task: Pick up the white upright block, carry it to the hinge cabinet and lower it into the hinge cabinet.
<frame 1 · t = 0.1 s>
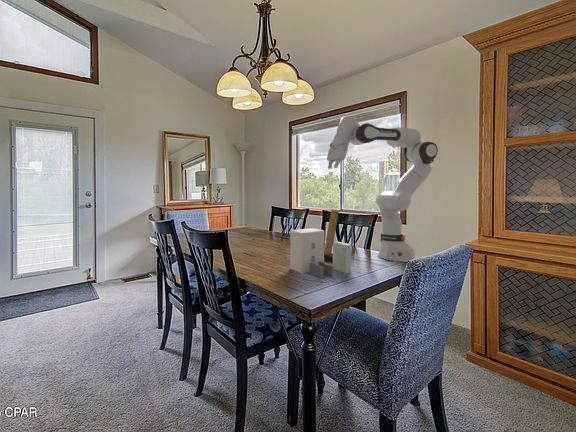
hand: (332, 168, 172), 52 cm above the table, tool tilted 20°, fingers open, 8 cm apart
white upright block: (341, 270, 157), on the table
hammer: (327, 261, 177), on the table
hinge cabinet: (321, 274, 150), on the table
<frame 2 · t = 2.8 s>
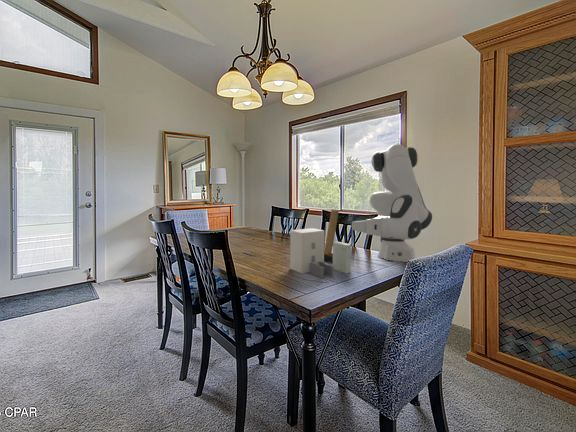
hand: (360, 223, 144), 25 cm above the table, tool horizontal, fingers open, 8 cm apart
nothing on the table moved.
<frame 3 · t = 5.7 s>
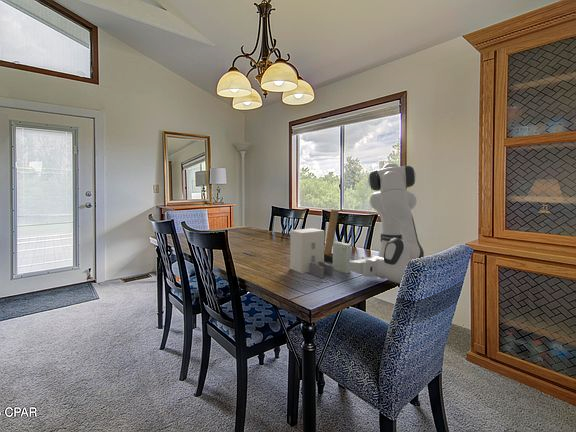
hand: (355, 259, 148), 7 cm above the table, tool horizontal, fingers open, 8 cm apart
nothing on the table moved.
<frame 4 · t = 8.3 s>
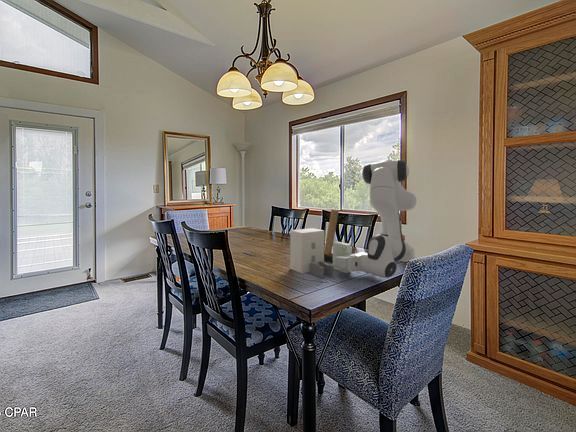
hand: (343, 255, 155), 8 cm above the table, tool horizontal, fingers closed on white upright block, 3 cm apart
white upright block: (341, 270, 157), on the table, touching gripper
everything else where it was.
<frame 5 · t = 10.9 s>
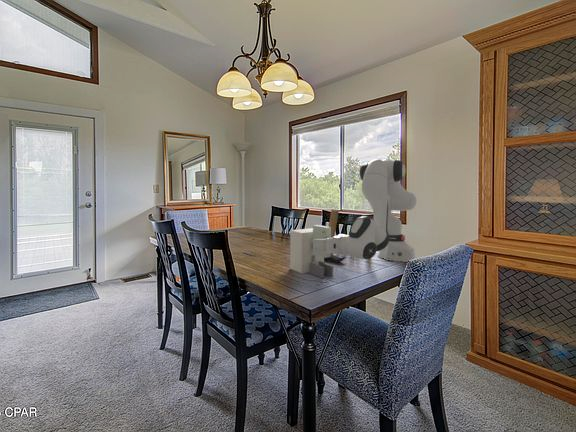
hand: (323, 239, 147), 17 cm above the table, tool horizontal, fingers closed on white upright block, 3 cm apart
white upright block: (321, 255, 149), point 10 cm above the table, touching gripper
everything else where it was.
when the fingers open (10 cm above the table, at t = 13.3 s): white upright block drops 2 cm, resting in hinge cabinet.
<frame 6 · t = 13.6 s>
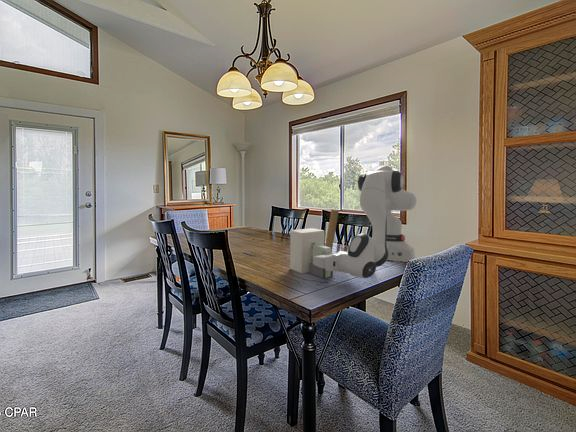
hand: (322, 255, 148), 10 cm above the table, tool horizontal, fingers open, 6 cm apart
white upright block: (321, 274, 150), resting in hinge cabinet
everything else where it was.
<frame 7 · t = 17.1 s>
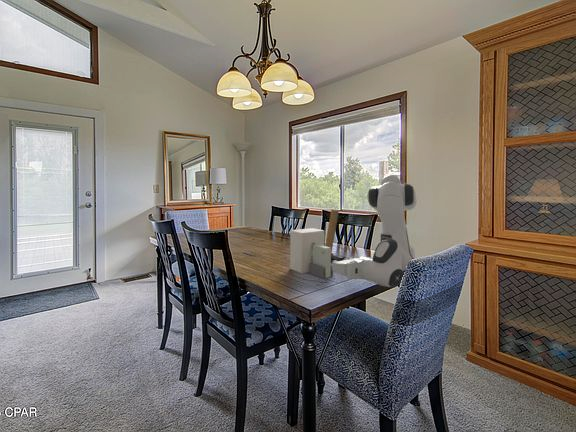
hand: (341, 260, 138), 10 cm above the table, tool horizontal, fingers open, 8 cm apart
nothing on the table moved.
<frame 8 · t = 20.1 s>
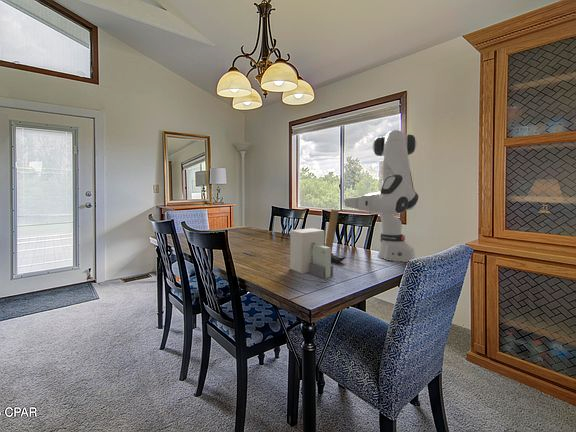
hand: (352, 201, 154), 35 cm above the table, tool horizontal, fingers open, 8 cm apart
nothing on the table moved.
at the end: white upright block 0.1 cm off-centre on the hinge cabinet, point 0.0 cm above the hinge cabinet's base; white upright block tilted 0°; the gripper is holding nothing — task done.
